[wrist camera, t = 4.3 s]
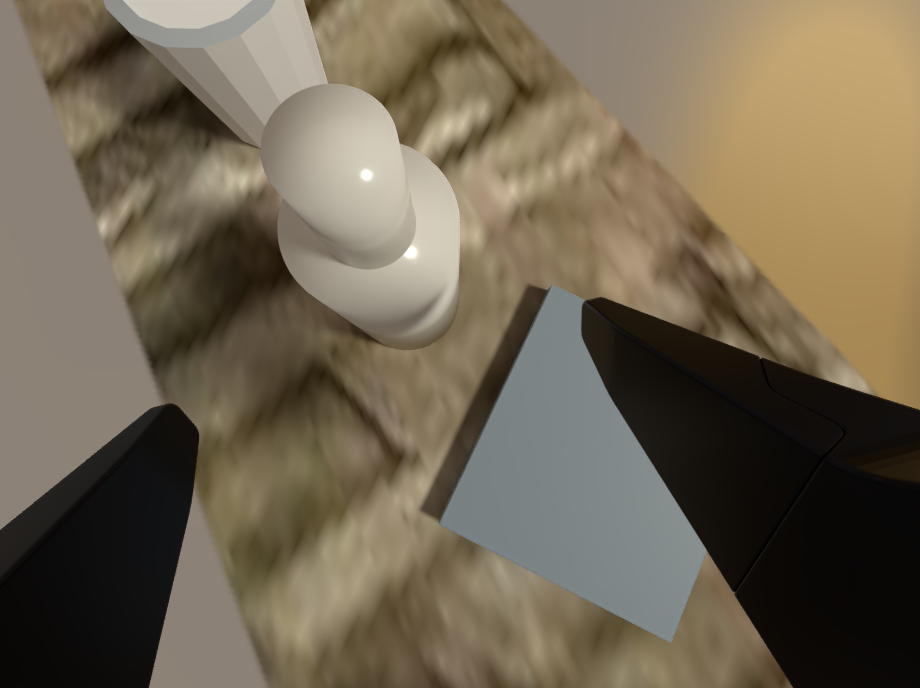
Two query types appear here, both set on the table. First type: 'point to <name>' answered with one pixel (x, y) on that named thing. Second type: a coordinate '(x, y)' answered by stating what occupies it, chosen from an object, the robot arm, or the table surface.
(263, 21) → the shot glass
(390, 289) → the cream bottle
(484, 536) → the slate board
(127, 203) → the table surface
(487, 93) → the table surface
